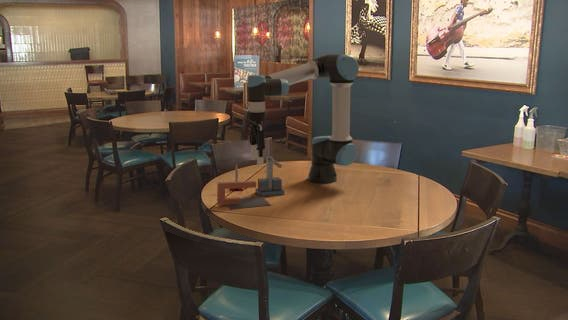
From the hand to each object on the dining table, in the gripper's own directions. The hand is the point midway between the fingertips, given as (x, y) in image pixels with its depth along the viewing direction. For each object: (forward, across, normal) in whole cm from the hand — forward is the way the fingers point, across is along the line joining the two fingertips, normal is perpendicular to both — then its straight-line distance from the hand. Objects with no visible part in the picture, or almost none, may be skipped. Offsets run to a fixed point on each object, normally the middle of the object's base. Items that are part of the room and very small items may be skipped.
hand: (257, 161), depth 217 cm
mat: (+19, 0, -5) cm, 19 cm away
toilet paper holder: (+19, -5, +9) cm, 21 cm away
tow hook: (+19, -25, -3) cm, 32 cm away
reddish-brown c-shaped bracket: (+14, 0, -1) cm, 14 cm away
